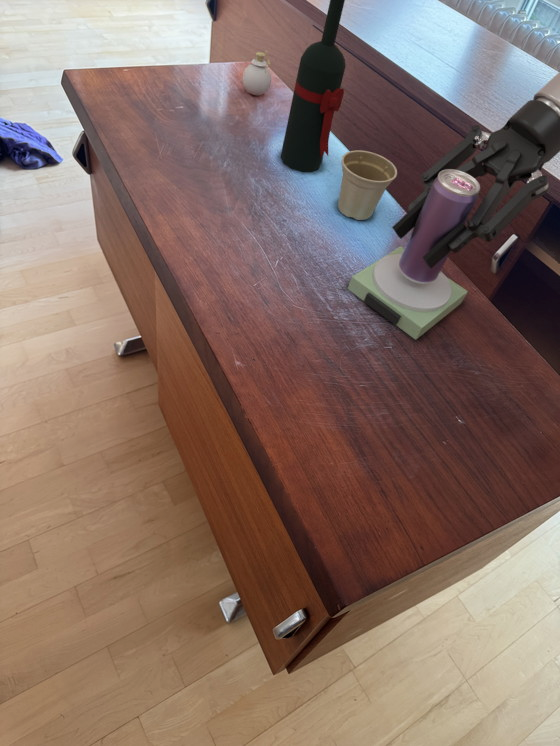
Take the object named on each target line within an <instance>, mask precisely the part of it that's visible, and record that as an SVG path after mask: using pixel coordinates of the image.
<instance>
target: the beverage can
mask: <svg viewBox="0 0 560 746" xmlns="http://www.w3.org/2000/svg"><path fill="white" fill-rule="evenodd" d="M480 184H481V183H479V181H478V180H477V179H476V178H473V177H472V176H471V175H469V174H467V173H465V172H462V171H459V170H453V169H446V170H442V171H441V172H440V173H439V174H438V177H437V178H436V179H435V180H434V182H433V184H432V187H431V189H430V191H429V194H428V196H427V198H426V200H425V203H424V205H423V207H422V210H421V212H420V214H419V217H418V219H417V221H416V224H415V226H414V228H413V229H412V230H411V233H410V236H409V238H408V240H407V242H406V244H405V247H404V248H405V249H404V252H403V254H402V256H401V259H400V261H399V266H400V270H401V272H402V274H403V275H404V276H405V277H406V278H407V279H409V280H411V281H413V282H416V283H420V284H426V283H430V282H432V281H434V280H435V279H436V278H437V277H438V275H439V273H440V271H441V272H442V270H443V267H444V265H445V263H446V261H447V260H448V258H449V255H450V253H451V252H452V251H450V252H449V253H448V254H447V255H446V256H445V257H444V258H443V259H441V260H440V261H439V262H438V263H437V264H436V265H435V266H434V267H433V268H430V267H429V266H428V265H427V263H426V262H425V260H424V259H423V256H424V255H426V254H427V253H428V252H429V251H430V250H431V249H432V248H433V247H434V246H436V245H437V244H438V243H439V242H440V241H441V240H442V239H443V238H444V237H445V236H447V235H448V234H449V233H450V232H451V231H452V230H453V229H454V228H455V227H456V226H458V225H459V224H460V223H461V222H462V223H463V224H464V225H466V223H467V220H468V218H469V217H470V214H471V212H472V210H473V208H474V206H475V204H476V203H477V200H478V198H479V193H480V191H481V185H480Z"/></svg>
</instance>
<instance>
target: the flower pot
mask: <svg viewBox="0 0 560 746" xmlns="http://www.w3.org/2000/svg"><path fill="white" fill-rule="evenodd" d="M340 163H341V168H342V169H341V170H342V171H341V172H342V175H341V176H342V177H341V184H340V190H339V197H338V202H337V209H338V211H339V212H340V213H341V214H342V215H344V216H345V217H347V218H352V219H354V220H357V221H365V220H368V219H370V218H371V217H372V215H373V214H374V211H375V210H376V208H377V206H378V204H379V202H380V201H381V198H382V196H383V195H384V194H385V191H386V189H387V187H389V186H390V185H391V183H392V181H394V180H395V179H396V177H398V169H397V167H396V166H395V164H394V163H393V162H392V161H390V160H389V159H388V158H386V157H384V156H383V155H380V154H378V153H376V152H371V151H368V150H363V149H359V150H358V149H357V150H351V151H348V152H346V153H344V154H343V155H342V157H341V162H340Z"/></svg>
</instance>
